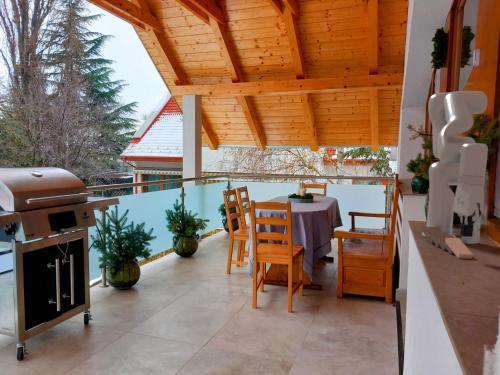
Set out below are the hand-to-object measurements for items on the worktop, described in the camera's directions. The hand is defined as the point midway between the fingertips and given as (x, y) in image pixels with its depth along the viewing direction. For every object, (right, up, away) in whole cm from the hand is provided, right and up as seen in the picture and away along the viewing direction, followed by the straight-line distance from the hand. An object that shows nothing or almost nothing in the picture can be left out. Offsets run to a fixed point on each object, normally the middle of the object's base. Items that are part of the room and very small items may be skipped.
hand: (466, 235), depth 126 cm
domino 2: (0, -6, +14) cm, 15 cm away
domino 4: (0, -6, +5) cm, 8 cm away
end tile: (0, -7, 0) cm, 7 cm away
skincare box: (+16, -6, +25) cm, 30 cm away
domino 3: (0, -6, +10) cm, 11 cm away
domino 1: (0, -5, +19) cm, 20 cm away
